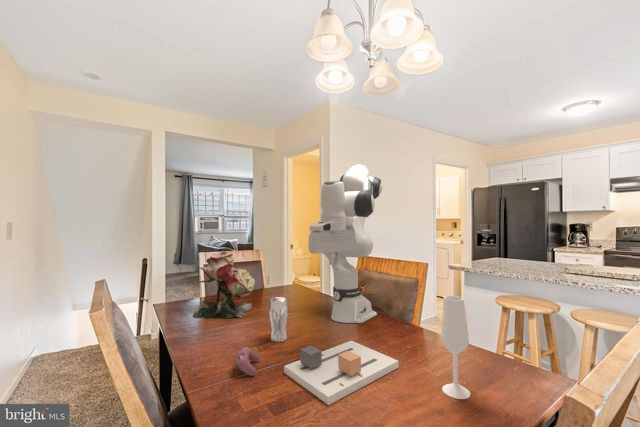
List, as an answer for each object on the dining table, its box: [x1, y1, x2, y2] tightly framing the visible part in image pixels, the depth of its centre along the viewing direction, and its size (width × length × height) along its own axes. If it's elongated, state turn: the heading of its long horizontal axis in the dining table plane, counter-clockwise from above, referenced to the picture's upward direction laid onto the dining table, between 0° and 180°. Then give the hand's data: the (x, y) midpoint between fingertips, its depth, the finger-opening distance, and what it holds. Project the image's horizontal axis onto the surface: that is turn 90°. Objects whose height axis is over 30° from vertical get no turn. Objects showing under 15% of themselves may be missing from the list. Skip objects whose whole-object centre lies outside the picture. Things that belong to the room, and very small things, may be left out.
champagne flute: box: [440, 295, 471, 400], centre depth 76 cm, size 7×7×24 cm
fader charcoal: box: [300, 345, 322, 369], centre depth 86 cm, size 4×5×4 cm
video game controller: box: [236, 346, 261, 377], centre depth 89 cm, size 10×5×7 cm, turn 5°
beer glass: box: [268, 296, 289, 343], centre depth 111 cm, size 7×7×15 cm
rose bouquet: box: [192, 250, 256, 320], centre depth 148 cm, size 26×29×30 cm
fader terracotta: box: [338, 351, 361, 376], centre depth 82 cm, size 4×5×4 cm
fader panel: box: [283, 340, 400, 406], centre depth 87 cm, size 28×20×2 cm
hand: (334, 264), depth 104 cm, fingers closed
